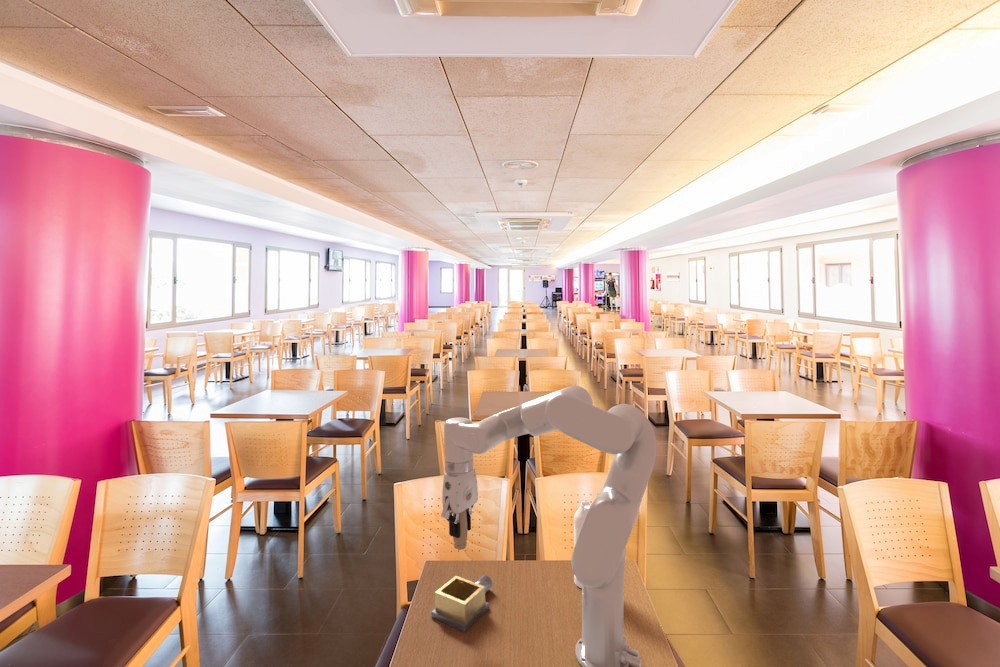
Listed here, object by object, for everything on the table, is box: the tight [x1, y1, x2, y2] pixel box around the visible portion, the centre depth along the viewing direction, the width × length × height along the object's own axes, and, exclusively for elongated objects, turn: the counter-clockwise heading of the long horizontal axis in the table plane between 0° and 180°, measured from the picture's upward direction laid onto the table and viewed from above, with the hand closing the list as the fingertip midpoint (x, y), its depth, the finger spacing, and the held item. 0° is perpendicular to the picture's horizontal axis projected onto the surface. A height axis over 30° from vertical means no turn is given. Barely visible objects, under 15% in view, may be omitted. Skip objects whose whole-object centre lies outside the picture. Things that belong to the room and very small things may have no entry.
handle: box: [452, 493, 471, 551], centre depth 126 cm, size 5×6×15 cm
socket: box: [431, 574, 493, 633], centre depth 130 cm, size 11×18×6 cm, turn 147°
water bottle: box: [573, 499, 591, 589], centre depth 138 cm, size 9×6×25 cm
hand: (460, 531), depth 126 cm, fingers closed on handle, 4 cm apart
